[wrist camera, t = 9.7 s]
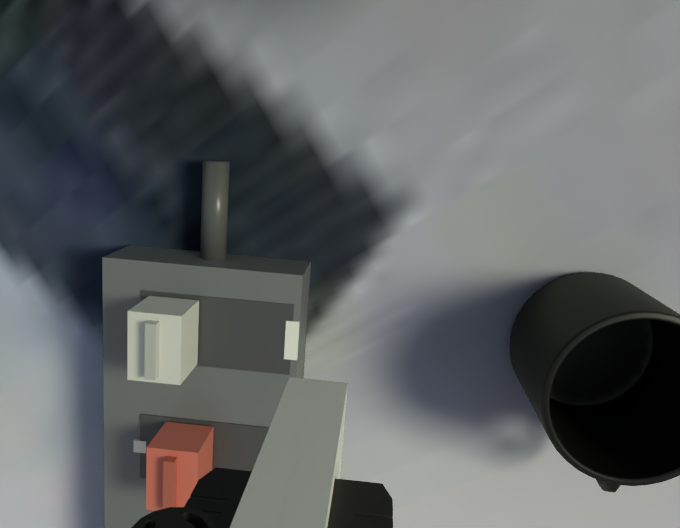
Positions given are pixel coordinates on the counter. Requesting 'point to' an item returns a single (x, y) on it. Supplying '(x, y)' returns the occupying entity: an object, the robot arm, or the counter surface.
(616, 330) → the mug
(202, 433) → the slider
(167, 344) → the slider
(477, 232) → the counter surface
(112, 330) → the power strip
